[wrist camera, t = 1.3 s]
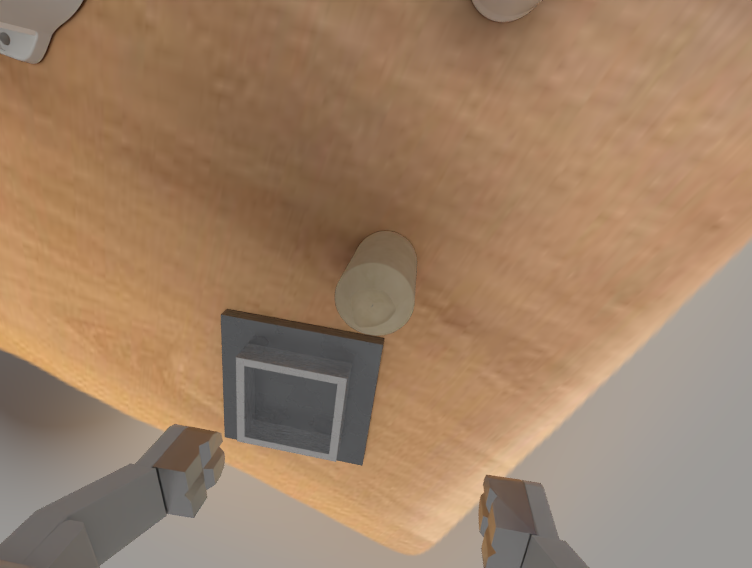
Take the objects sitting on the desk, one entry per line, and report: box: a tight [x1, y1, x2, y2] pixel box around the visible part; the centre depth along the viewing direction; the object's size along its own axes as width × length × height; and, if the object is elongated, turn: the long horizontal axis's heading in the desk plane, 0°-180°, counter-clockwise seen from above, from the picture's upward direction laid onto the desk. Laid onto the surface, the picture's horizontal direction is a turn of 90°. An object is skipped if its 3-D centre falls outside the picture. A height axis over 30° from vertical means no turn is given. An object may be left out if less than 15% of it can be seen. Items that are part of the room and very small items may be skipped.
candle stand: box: [221, 309, 384, 465], centre depth 39 cm, size 16×16×4 cm
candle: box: [335, 231, 417, 336], centre depth 29 cm, size 6×6×10 cm
